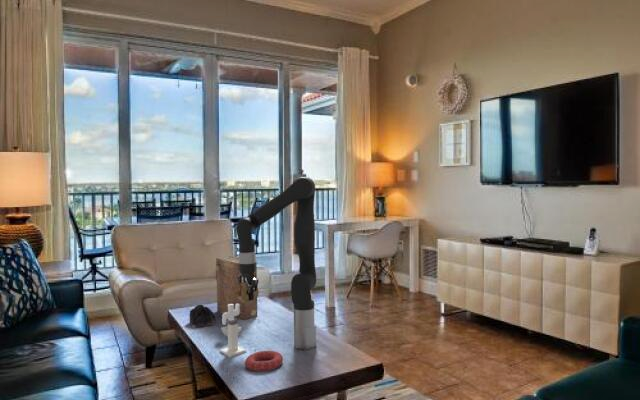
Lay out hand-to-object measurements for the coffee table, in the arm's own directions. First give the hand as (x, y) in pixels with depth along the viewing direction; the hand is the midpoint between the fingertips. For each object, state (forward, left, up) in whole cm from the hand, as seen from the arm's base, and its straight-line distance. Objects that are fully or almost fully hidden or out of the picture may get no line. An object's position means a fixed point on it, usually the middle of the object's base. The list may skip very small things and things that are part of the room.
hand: (248, 299), depth 211 cm
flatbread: (0, 0, -2) cm, 2 cm away
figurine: (+15, 0, -20) cm, 25 cm away
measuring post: (-4, +11, -20) cm, 23 cm away
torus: (-24, +9, -21) cm, 33 cm away
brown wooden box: (+43, -21, -21) cm, 52 cm away
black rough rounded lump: (+41, +1, -21) cm, 46 cm away
